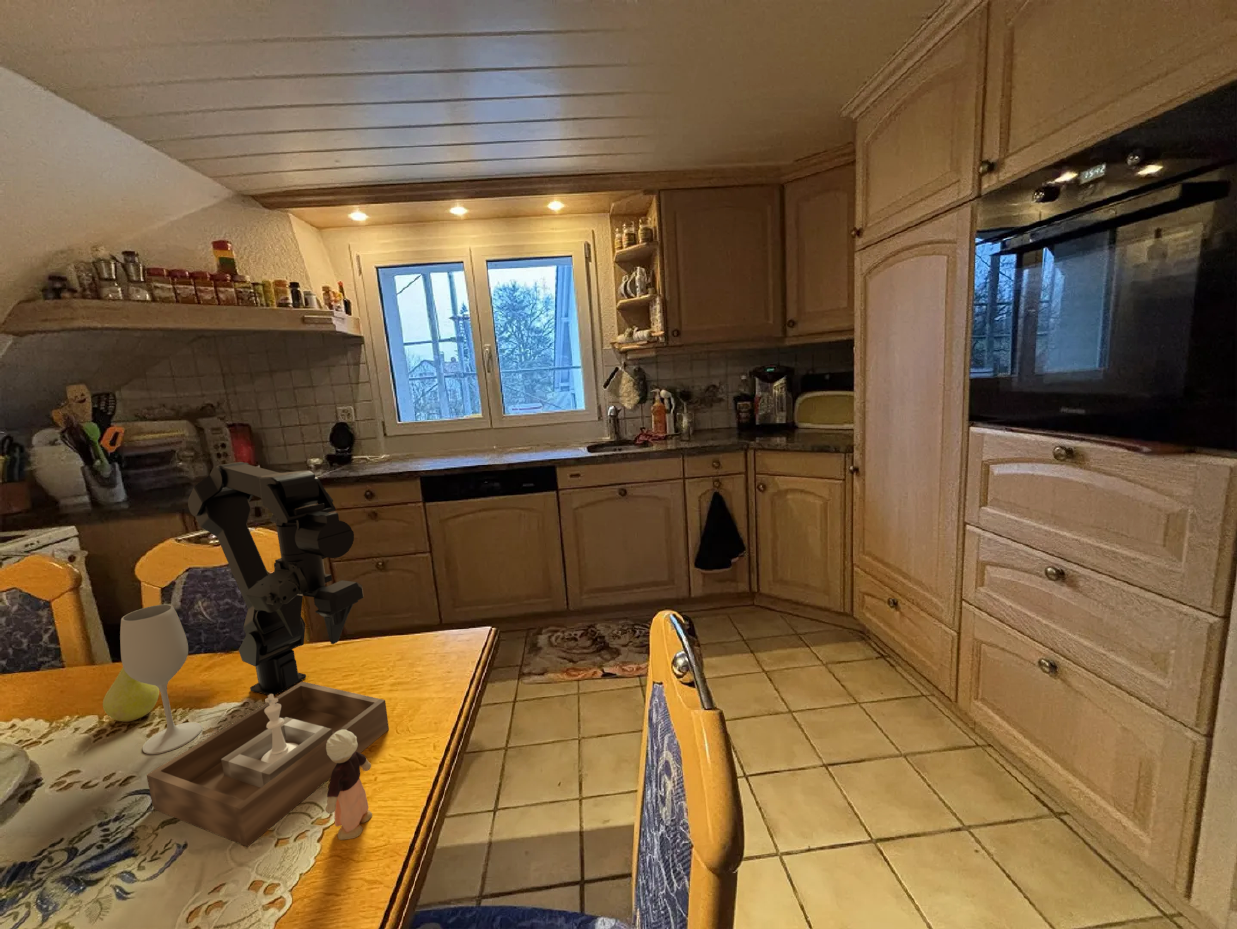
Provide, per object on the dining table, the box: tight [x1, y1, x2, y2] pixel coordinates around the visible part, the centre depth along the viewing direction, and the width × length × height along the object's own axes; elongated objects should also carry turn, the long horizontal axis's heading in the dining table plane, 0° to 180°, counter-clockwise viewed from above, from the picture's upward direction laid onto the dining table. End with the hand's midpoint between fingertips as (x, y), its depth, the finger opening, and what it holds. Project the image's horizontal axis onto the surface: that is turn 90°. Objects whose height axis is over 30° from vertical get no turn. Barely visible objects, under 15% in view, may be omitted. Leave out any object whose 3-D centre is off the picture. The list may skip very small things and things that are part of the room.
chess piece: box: [261, 694, 298, 764], centre depth 74 cm, size 5×5×10 cm
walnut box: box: [146, 681, 390, 848], centre depth 75 cm, size 18×22×5 cm
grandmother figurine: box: [325, 730, 373, 841], centre depth 63 cm, size 8×4×13 cm, turn 5°
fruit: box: [102, 666, 160, 722], centre depth 88 cm, size 7×8×12 cm
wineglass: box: [119, 603, 203, 755], centre depth 81 cm, size 8×8×21 cm
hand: (314, 639), depth 87 cm, fingers open, 9 cm apart
